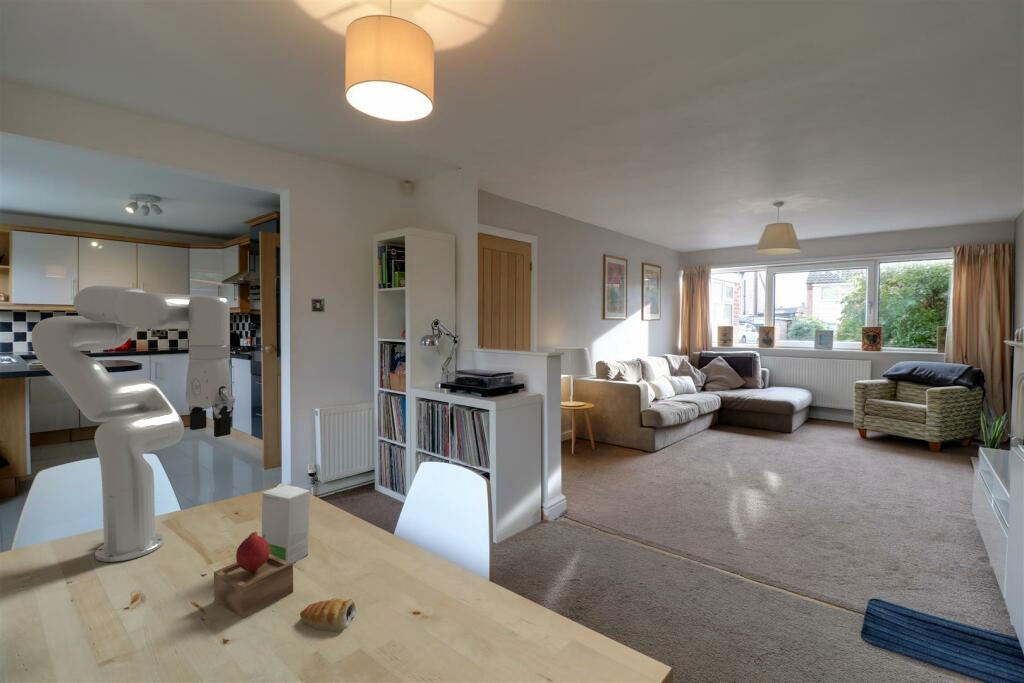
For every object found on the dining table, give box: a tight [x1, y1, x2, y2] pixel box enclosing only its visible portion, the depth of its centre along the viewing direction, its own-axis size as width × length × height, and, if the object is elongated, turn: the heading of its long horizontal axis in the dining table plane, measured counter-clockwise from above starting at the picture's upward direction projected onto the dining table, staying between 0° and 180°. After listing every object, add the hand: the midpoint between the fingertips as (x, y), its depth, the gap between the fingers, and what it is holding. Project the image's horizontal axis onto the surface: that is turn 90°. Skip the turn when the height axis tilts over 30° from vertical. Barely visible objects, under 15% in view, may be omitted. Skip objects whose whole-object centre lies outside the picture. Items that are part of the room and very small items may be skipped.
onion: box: [235, 530, 270, 572], centre depth 95 cm, size 6×6×8 cm
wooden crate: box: [213, 554, 294, 619], centre depth 96 cm, size 10×10×6 cm
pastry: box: [299, 597, 357, 632], centre depth 89 cm, size 9×7×4 cm
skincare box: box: [261, 484, 311, 565], centre depth 111 cm, size 8×7×16 cm
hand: (210, 432), depth 106 cm, fingers open, 9 cm apart
